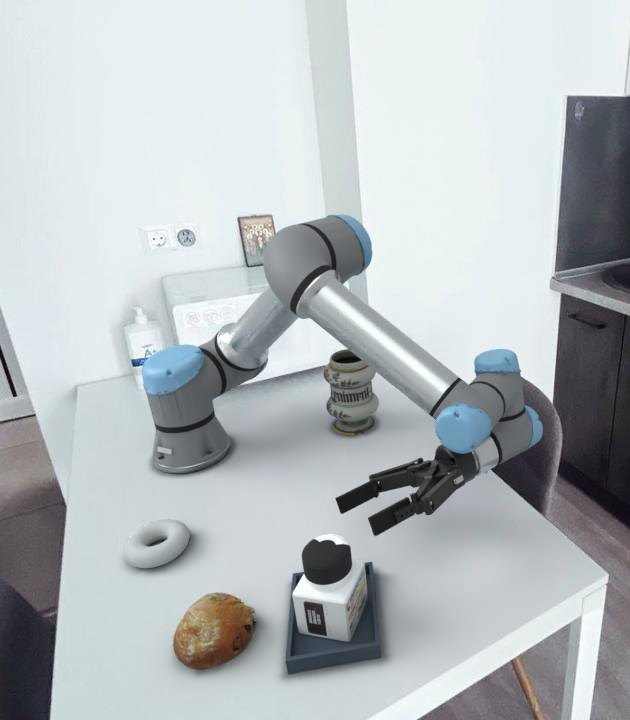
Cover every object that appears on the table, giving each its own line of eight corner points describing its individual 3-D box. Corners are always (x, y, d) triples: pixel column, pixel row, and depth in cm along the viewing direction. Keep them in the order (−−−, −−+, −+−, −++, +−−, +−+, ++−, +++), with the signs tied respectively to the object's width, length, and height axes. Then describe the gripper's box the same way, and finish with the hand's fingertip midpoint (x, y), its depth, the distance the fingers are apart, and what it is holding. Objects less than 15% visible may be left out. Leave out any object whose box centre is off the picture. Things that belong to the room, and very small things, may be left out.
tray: (294, 585, 85) (292, 573, 84) (373, 573, 87) (372, 561, 86) (287, 674, 71) (285, 661, 70) (381, 657, 73) (380, 644, 72)
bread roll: (210, 627, 82) (176, 594, 79) (269, 601, 81) (237, 566, 78) (187, 690, 73) (148, 655, 70) (252, 662, 72) (216, 625, 69)
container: (350, 643, 75) (341, 572, 69) (297, 634, 76) (285, 563, 71) (368, 599, 82) (362, 531, 76) (320, 591, 83) (311, 523, 78)
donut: (175, 573, 87) (201, 529, 96) (170, 557, 86) (197, 514, 95) (113, 573, 87) (145, 529, 97) (107, 557, 86) (140, 514, 95)
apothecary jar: (338, 443, 122) (330, 370, 114) (322, 420, 131) (314, 351, 124) (388, 429, 127) (383, 359, 120) (369, 408, 137) (363, 341, 129)
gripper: (516, 491, 82) (397, 563, 72) (435, 466, 104) (334, 518, 93) (503, 446, 81) (379, 512, 71) (423, 430, 103) (320, 479, 92)
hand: (353, 516), depth 82 cm, fingers open, 13 cm apart
